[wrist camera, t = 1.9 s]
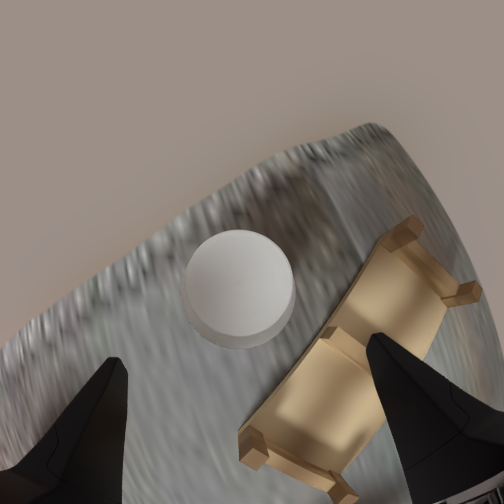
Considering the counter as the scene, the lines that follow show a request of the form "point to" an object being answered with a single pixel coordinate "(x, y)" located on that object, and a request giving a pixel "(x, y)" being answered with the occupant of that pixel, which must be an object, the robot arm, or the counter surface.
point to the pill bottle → (238, 289)
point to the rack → (352, 365)
